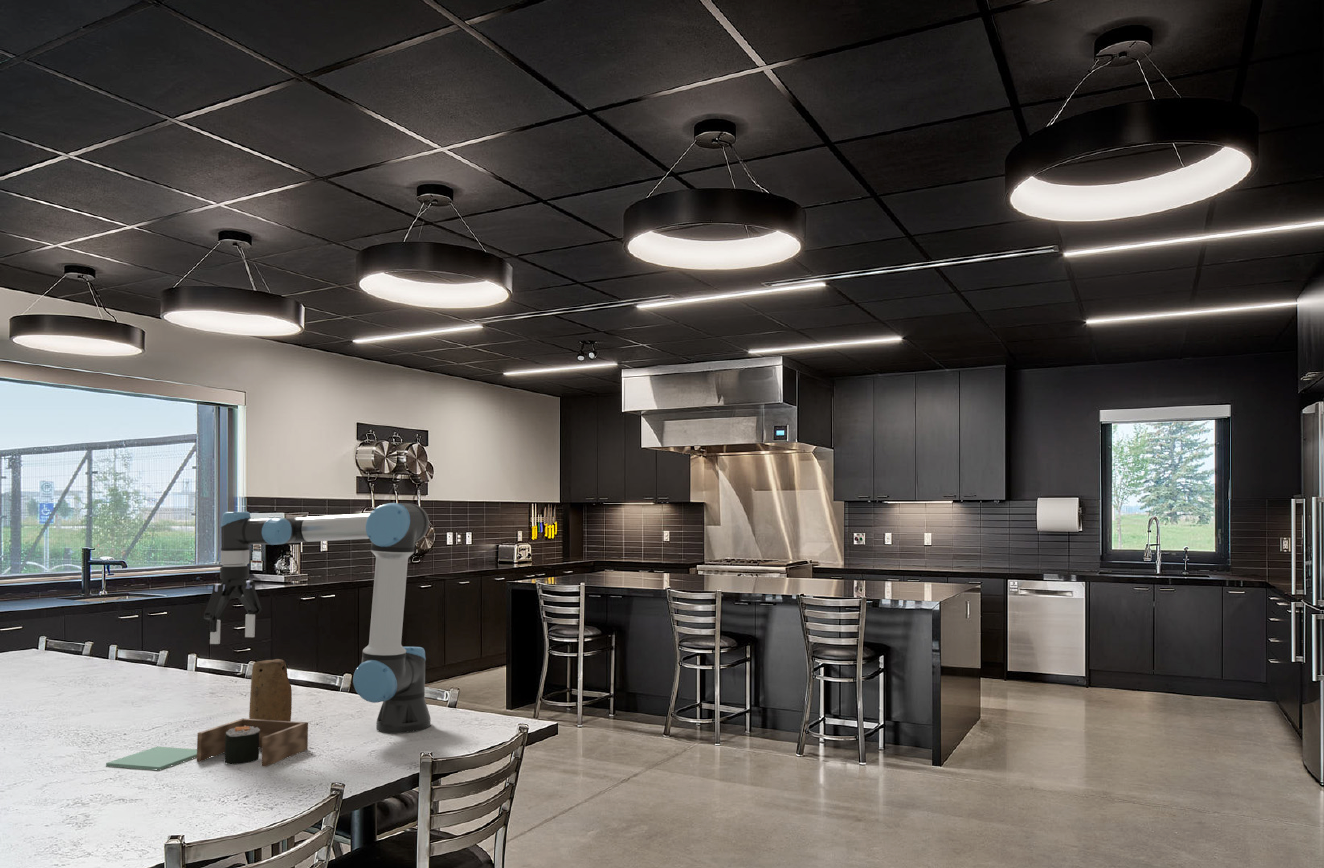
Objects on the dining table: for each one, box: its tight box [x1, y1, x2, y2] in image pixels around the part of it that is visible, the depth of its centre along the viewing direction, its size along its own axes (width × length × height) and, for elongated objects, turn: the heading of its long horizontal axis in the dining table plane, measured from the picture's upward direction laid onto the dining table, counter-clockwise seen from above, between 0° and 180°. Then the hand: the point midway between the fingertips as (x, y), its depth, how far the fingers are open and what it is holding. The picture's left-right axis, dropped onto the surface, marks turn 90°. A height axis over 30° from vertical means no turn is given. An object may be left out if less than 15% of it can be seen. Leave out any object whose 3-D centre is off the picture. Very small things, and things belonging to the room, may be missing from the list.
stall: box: [196, 718, 309, 767], centre depth 234 cm, size 16×20×7 cm
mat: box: [105, 746, 197, 771], centre depth 230 cm, size 16×16×1 cm
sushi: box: [224, 725, 260, 765], centre depth 230 cm, size 8×8×8 cm
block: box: [248, 658, 293, 721], centre depth 260 cm, size 11×8×20 cm
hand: (232, 640), depth 259 cm, fingers open, 13 cm apart
